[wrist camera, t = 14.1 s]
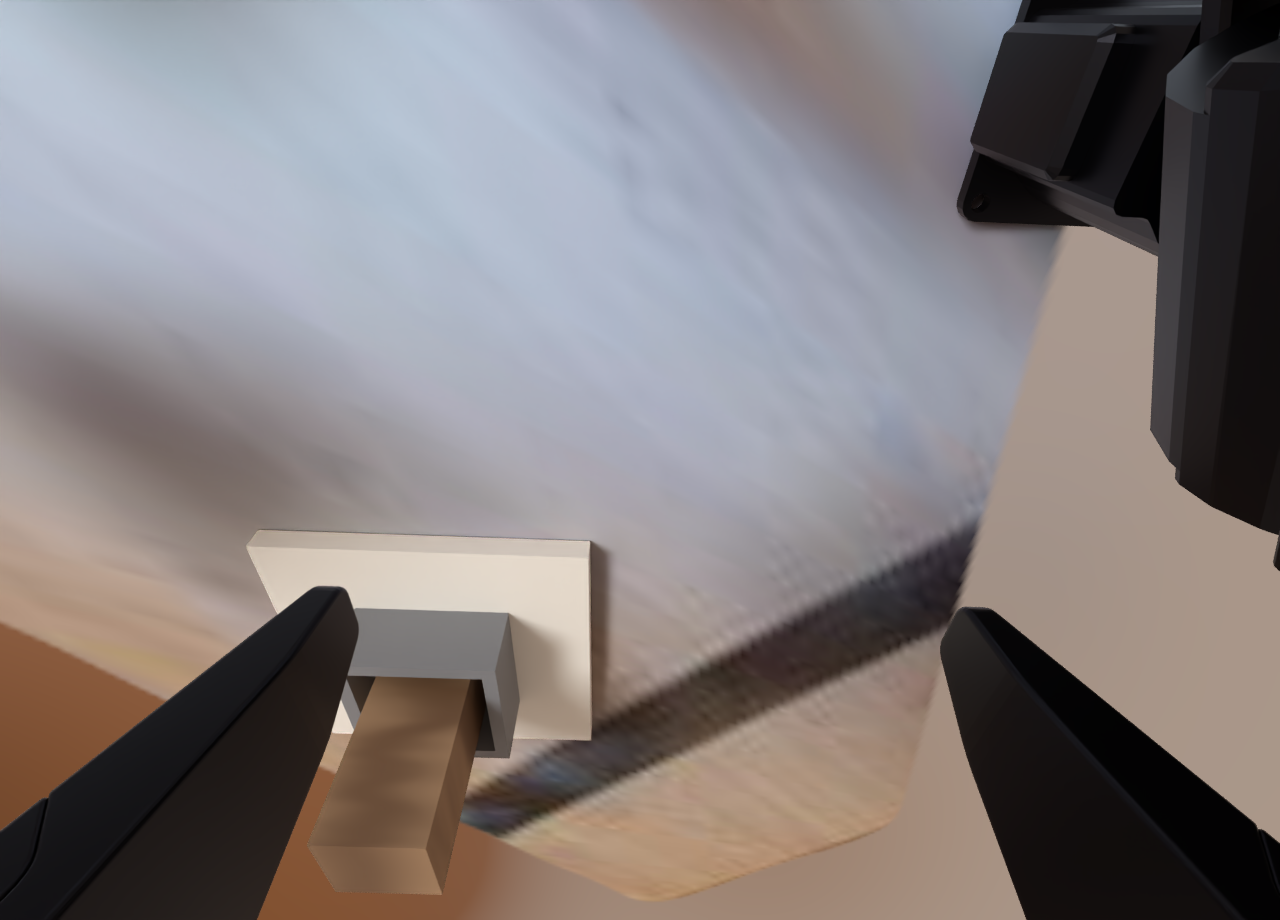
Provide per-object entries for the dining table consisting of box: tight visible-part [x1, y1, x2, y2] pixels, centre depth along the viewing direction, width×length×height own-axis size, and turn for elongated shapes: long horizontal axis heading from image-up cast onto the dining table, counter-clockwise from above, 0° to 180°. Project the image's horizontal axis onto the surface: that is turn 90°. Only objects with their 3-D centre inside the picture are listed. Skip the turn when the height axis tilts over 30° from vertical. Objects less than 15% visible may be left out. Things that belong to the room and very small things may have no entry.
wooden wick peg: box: [307, 676, 486, 895], centre depth 26 cm, size 4×4×9 cm
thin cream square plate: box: [246, 530, 592, 758], centre depth 28 cm, size 14×14×4 cm
